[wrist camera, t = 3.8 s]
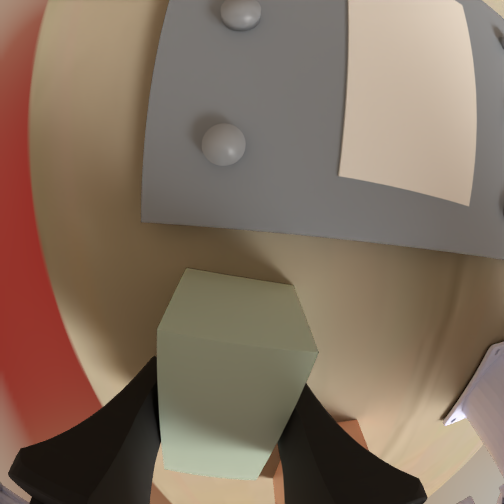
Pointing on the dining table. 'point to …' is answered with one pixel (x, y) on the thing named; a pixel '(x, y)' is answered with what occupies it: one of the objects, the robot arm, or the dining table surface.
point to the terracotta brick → (348, 426)
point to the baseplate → (331, 121)
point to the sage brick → (229, 372)
